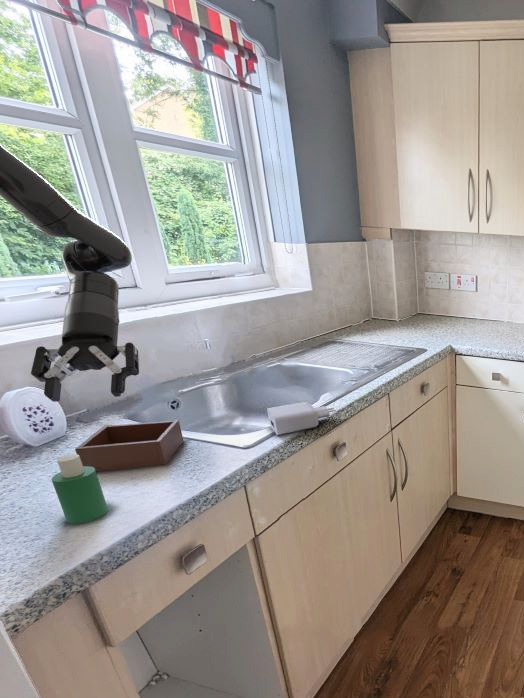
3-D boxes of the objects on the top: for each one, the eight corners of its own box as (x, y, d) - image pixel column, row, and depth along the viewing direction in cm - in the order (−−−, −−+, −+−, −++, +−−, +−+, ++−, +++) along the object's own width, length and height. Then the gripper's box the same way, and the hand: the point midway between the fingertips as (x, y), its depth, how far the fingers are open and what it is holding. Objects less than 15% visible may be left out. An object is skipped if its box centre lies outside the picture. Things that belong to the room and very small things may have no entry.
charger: (341, 423, 118) (277, 436, 109) (330, 412, 125) (269, 424, 116) (339, 406, 116) (274, 418, 107) (328, 396, 123) (266, 406, 114)
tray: (82, 472, 90) (74, 449, 88) (110, 447, 100) (103, 425, 98) (165, 464, 94) (159, 441, 93) (183, 441, 105) (178, 420, 103)
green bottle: (59, 526, 74) (37, 467, 70) (76, 508, 79) (56, 452, 75) (99, 521, 76) (80, 462, 72) (113, 504, 81) (96, 448, 77)
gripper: (29, 311, 81) (17, 392, 75) (130, 309, 86) (127, 383, 81) (53, 334, 87) (44, 410, 81) (146, 331, 93) (143, 401, 87)
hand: (85, 397), depth 81 cm, fingers open, 8 cm apart
